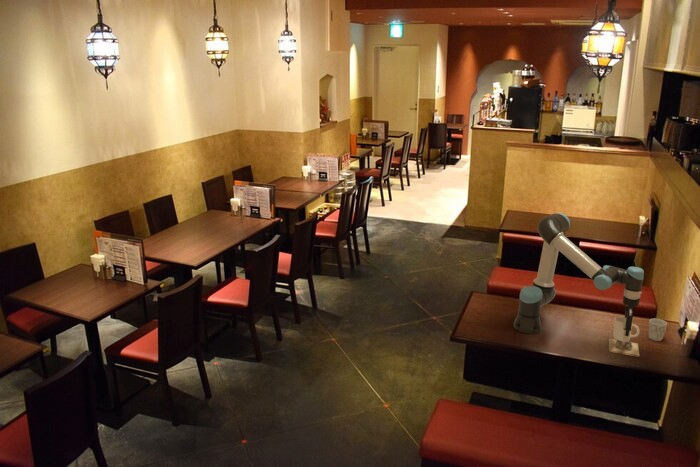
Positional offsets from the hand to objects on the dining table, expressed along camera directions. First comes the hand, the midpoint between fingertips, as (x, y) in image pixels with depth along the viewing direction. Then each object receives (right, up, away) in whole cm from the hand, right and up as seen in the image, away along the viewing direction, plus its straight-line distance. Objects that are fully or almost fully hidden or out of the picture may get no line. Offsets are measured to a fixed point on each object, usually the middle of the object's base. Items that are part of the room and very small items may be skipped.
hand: (625, 337), depth 291 cm
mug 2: (+24, -3, +14) cm, 28 cm away
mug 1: (0, -1, 0) cm, 1 cm away
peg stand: (0, -6, +2) cm, 6 cm away
